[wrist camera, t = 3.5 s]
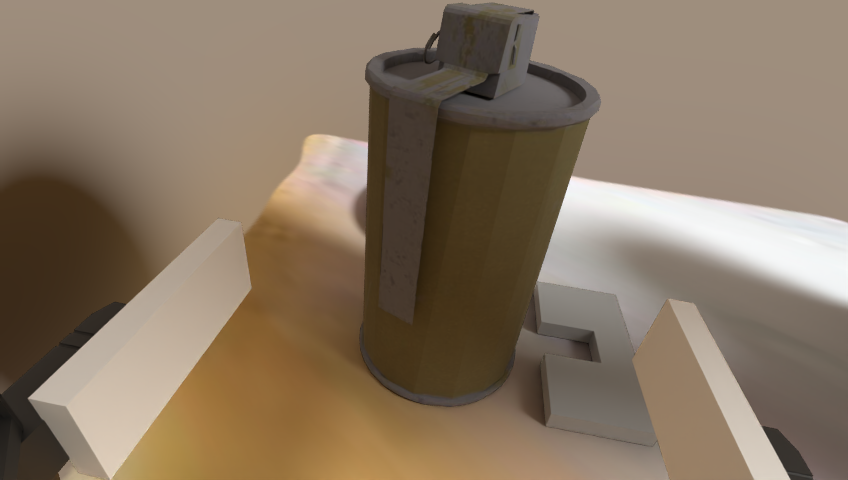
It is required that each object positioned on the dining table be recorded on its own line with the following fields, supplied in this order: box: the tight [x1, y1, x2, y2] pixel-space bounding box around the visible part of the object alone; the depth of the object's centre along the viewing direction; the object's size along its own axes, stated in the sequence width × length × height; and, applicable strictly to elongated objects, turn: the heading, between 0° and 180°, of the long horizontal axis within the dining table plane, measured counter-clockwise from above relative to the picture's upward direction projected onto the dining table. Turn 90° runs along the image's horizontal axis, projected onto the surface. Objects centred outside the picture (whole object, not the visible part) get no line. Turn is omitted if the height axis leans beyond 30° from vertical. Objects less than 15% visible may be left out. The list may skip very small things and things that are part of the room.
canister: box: [360, 3, 601, 407], centre depth 23 cm, size 11×10×20 cm
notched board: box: [534, 281, 657, 447], centre depth 29 cm, size 6×12×1 cm, turn 171°
